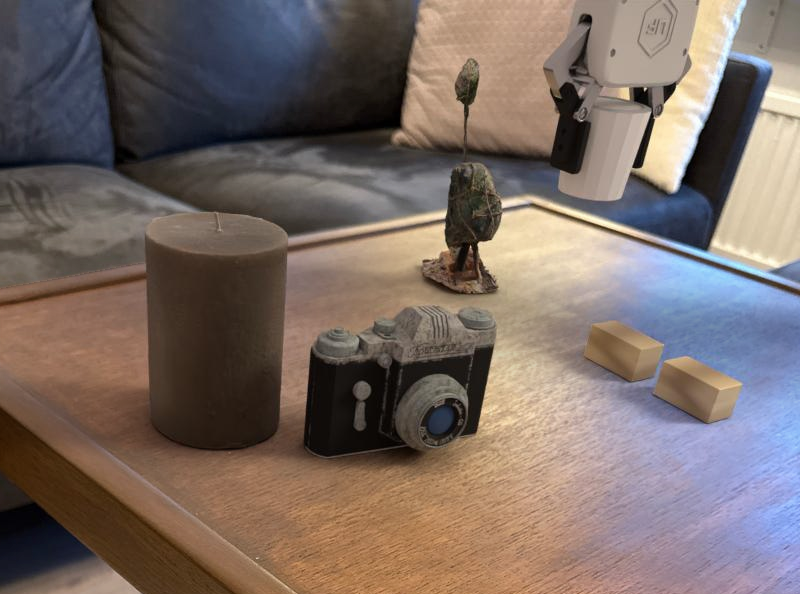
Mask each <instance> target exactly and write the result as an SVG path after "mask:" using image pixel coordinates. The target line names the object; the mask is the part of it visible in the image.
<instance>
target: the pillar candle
mask: <svg viewBox="0 0 800 594" xmlns="http://www.w3.org/2000/svg"><path fill="white" fill-rule="evenodd" d="M288 248H289V235H288V233H287V232H286V230H285V229H284V228H282V227H280V226H279V225H278V224H275V223H274V222H272V221H271V222H270V221H268V220H265V219H264V218H262V217H254V216H252V215H247V214H240V213H239V214H238V213H234V214H233V213H228V212H226V213H225V212H217V211H215V210H214V211H196V212H182V213H180V212H179V213H173V214H170V215H164V216H158V217H154V218H152V219H151V220H150V222H148V224H147V225H146V226H145V228H144V254H145V255H144V256H145V276H146V277H145V279H146V282H145V283H146V284H145V285H146V314H147V315H146V317H147V319H146V320H147V347H148V349H147V362H148V392H149V404H150V405H149V408H150V411H149V413H150V420H151V421H152V424H153V426H154V427H155V429H157V430H158V431H159V432H160V433H162V434H163V435H164V436H166V437H167V438H168V439H171V440H173V441H174V442H177V443H179V444H183V445H186V446H190V447H194V448H197V449H198V448H201V449H213V450H214V449H215V450H220V449H231V448H232V449H233V448H234V449H238V448H246V447H252V446H254V445H256V444H258V443H260V442H262V441H264V440H266V439H268V438H269V437H271V436H272V435H273V434H275V433H276V431H277V429H278V427H279V425H280V414H281V396H282V395H281V394H282V393H281V392H282V375H283V358H284V357H283V356H284V334H285V317H286V315H285V314H286V297H287V296H286V295H287V293H286V292H287V276H288V251H289V249H288Z"/></svg>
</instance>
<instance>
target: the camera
mask: <svg viewBox="0 0 800 594" xmlns="http://www.w3.org/2000/svg"><path fill="white" fill-rule="evenodd" d="M498 329H499V326H498V323H497V322H496V321H495V314H494V313H492V312H491V311H489V310H487V309H484V308H481V307H474V306H471V307H470V306H469V307H462V308H460V309H459V310H458V312H457V313H454V312H452V311H450V310H449V309H446V308H444V307H443V306H440V305H439V304H432V305H431V304H429V305H417V306H406V307H405V308H403V309H402V310H400V312H398V313H397V314H395V316H394V317H393V318H388V317H377V318H376V319H375V320H374V322H373V324H372V325H370V326H368V327H367V328H366V329H364V330H362V331H361V332H358V333H355V334H354V333H353V332H350V331H349V330H346V329H345V328H344V327H342V326H335V327H334V328H330V329H327V330H323V331H321V332H319V333H318V334H317V338H316V340H314V341H313V342H312V345H311V347H310V351H309V361H308V362H309V365H308V376H307V389H306V403H305V404H306V405H305V414H304V429H303V438H302V439H303V440H302V444H303V446H304V447H305V449H306V450H307V451H308V452H309V453H310V454H312V455H315V456H316V457H319V458H323V459H334V458H340V457H346V456H352V455H360V454H365V453H370V452H371V453H372V452H380V451H385V450H390V449H397V448H404V447H409V448H411V449H414V450H417V451H422V452H423V451H424V452H425V451H432V450H436V449H441V448H444V447H447V446H449V445H450V444H452V443H453V442H455V441H456V440H457V439H461V438H466V437H472V436H476V435H477V433H478V430H479V424H480V420H481V415H482V410H483V405H484V400H485V394H486V390H487V385H488V380H489V375H490V370H491V364H492V360H493V356H494V349H495V345H496V340H497V335H498Z"/></svg>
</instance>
